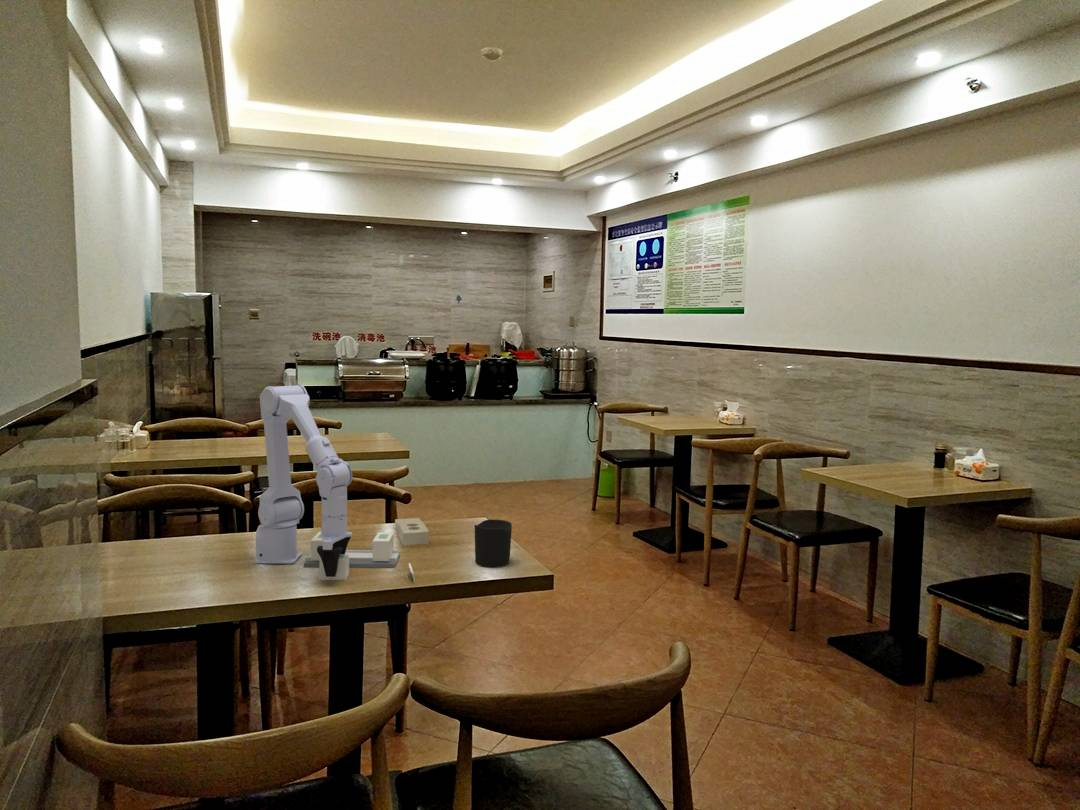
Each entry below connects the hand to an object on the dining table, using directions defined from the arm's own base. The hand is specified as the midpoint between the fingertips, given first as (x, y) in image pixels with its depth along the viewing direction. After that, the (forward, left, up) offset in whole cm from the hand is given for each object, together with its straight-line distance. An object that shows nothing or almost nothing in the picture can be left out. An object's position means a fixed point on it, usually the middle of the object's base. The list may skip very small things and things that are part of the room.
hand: (334, 571), depth 176 cm
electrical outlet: (+14, +36, -2) cm, 38 cm away
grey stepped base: (+2, +12, -1) cm, 12 cm away
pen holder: (+37, +12, -2) cm, 39 cm away
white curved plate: (+17, 0, -2) cm, 17 cm away
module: (0, 0, -2) cm, 2 cm away
